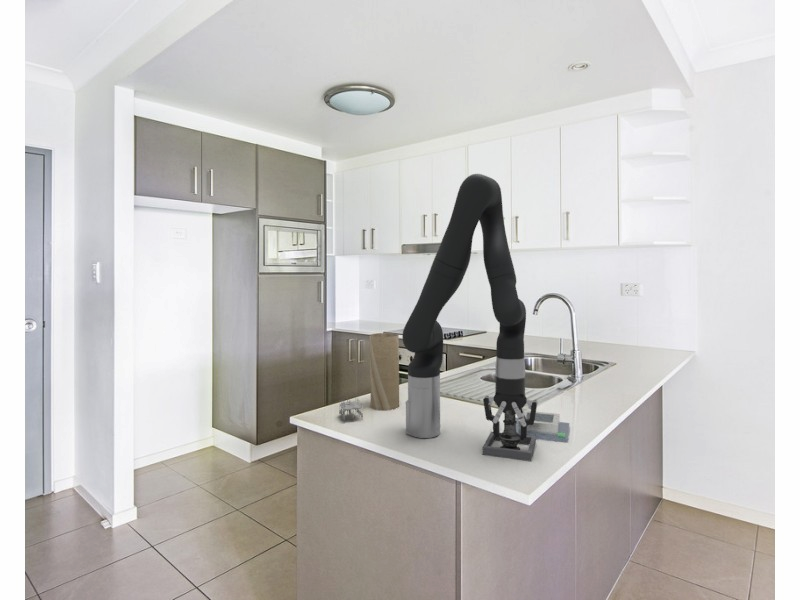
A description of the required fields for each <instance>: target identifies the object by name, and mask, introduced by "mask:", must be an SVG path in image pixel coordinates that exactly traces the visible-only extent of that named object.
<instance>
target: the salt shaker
mask: <svg viewBox="0 0 800 600" xmlns="http://www.w3.org/2000/svg"><path fill="white" fill-rule="evenodd" d="M515 418H516V414H513V412H512V411H510V410H508V411H506V413H504V420H503V419H502V422H503V431H502V432H500V434H499V437H500V441H499V442H500V443H501V444H502V445H501V446H500V447H499V448H507V449H515V450H521V448H520V447H519V446H518V445H519V444H520V443H519V442H520V439H521V435H520V434H518V433H517V432H516V423H517V421H515Z"/></svg>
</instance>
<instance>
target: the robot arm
mask: <svg viewBox="0 0 800 600" xmlns="http://www.w3.org/2000/svg"><path fill="white" fill-rule="evenodd" d="M478 223H480V224H479V225H480V227H481V232H482V254H483V263H484V269H485V271H486V276H487V281H488V284H489V287H490V298H491V306H492V311H493V314H494V317H495V319H496V321H497V322H498V323H499V331H498V335H497V338H496V345H495V346H496V349H495V351H496V352H495V353H496V355H495V356H496V360H495V369H494V370H495V377H494V378H495V388H494V389H495V394H494V396H489V395H485V396H484V397H483V400H482V401H483V407H484V413H485V414H484V415H485V419H486V420H487V421H491V422H492V432H493V434H494V435H495V436H496V437H499V434H500V433H501V432H500V431H501V429H500V427H501V425H500V424H501V423H500V421H499V419H500V418H501V416H502V414H505V413H506V411H508V410H510V411H512V412H513V414H515V416H517V417H516V418H518V419H519V420H520V422H521V424H522V425H521V440H524V438H526V436H527V426H528V425H533V424H534V421H535V415H536V412H537V408H538V400H537V399H534V400H531V399H527V397H526V373H527V372H526V363H525V341H524V339H525V331H526V323H527V321H526V320H527V310H526V306H525V304H524V302H523V301H522V300H521V299H520V298H519V295H518V290H517V287H516V285H517V276H516V271H515V267H514V263H513V259H512V256H511V251H510V248H509V243H508V237H507V233H506V226H505V220H504V210H503V198H502V188H501V187H500V184H499V183H498V182H497V180H495V179H493V178H492V177H490V176H487V175H485V174H482V173H473V174H472V173H471V174H470V175H468V176H467V177H466V178H465V179H464V180H463V181H462V183H461V184H460V187H459V189H458V192H457V195H456V198H455V202H454V206H453V209H452V213H451V217H450V220H449V222H448V224H447V227H446V229H445V232H444V235H443V237H442V240H441V241H440V245H439V246H438V249H437V251H436V254H435V256H434V259H433V261H432V264H431V266H430V269H429V272H428V275H427V278H426V280H425V282H424V284H423V287H422V289H421V292H420V295H419V298H418V300H417V302H416V304H415V306H414V307H413V309H412V312H411V314H410V316H409V317H408V319H407V322H406V323H405V326H404V327H403V330H402V336H401V337H402V343H403V345H404V347H405V349H406V350H407V351H408V352H411V353H414V355H413V358H412V359H411V361H410V363H408V366H407V393H408V394H407V399H408V400H406V402H405V434H406V435H409V436H412V437H414V438H418V439H419V438H420V439H431V438H436V437H437V436H439V435H440V434H441V368H442V365H443V358H444V332H443V328H442V326H441V324H440V323H439V322H438V321H437V319H438V318H439V315H440V314H441V312H442V311H443V308H444V306H446V304H447V303H448V302H449V300H450V299H451V298H452V297H453V296H454V295H455V293H456V291H457V290H458V289H459V287H460V286H461V283H462V282H463V279H464V276H465V275H466V272H467V270H468V268H469V264H470V263H471V262H470V261H471V255H472V246H473V245H472V244H473V240H474V239H473V237H474V234H475V232H476V231H475V230H476V228H477V226H478ZM493 402H494V404H495V405H496V406H497V408H498V409H497V411H496V413H495V415H494V414H493V411H492V405H493ZM526 405H527V406H528V407H527V408H528V409H529V410H530V411H531V412H530V418H529V419H526V417H525V415H524V412H523V410H524V409H523V408H524V407H525V406H526Z"/></svg>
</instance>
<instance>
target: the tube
mask: <svg viewBox="0 0 800 600" xmlns="http://www.w3.org/2000/svg"><path fill="white" fill-rule="evenodd" d="M399 348H400V344H399V334H398V333H394V332H393V333H392V332H379V333H371V334H369V371H370V372H369V376H370V378H369V379H370V380H369V381H370V383H369V385H370V408H371V409H372V410H377V411H392V409H393V410H396V408H397V409H399V407H400V359H399V358H400V357H399V356H400V353H399Z"/></svg>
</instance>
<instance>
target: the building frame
mask: <svg viewBox="0 0 800 600" xmlns="http://www.w3.org/2000/svg"><path fill="white" fill-rule="evenodd" d="M355 399H356V400H355V401H351V400H349V398H348V397H346V402H345V401H340V403H339V407H340V409H339V415H338V416H339V417H341V420H342V421H341V422H343V423H344V422H345V423H346V413H347V416H348V417H349V419H353V420H354V419H355V415H357V417H359V418H360V420H364V419H363V418H364V415H363V412H362V410H361V409H363V406H362V405H361V404H360V403H359V399H358V398H357V396H355ZM354 411H355V413H354Z"/></svg>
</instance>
